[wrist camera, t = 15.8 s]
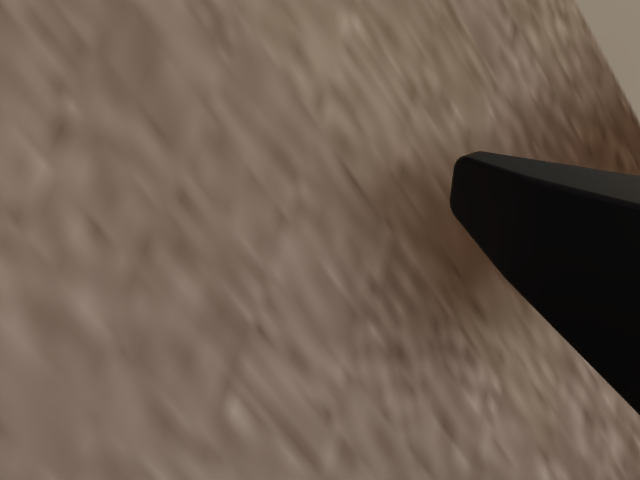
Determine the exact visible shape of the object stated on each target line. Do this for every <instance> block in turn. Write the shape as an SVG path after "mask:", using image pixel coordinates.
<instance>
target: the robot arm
mask: <svg viewBox="0 0 640 480" xmlns="http://www.w3.org/2000/svg"><path fill="white" fill-rule="evenodd" d="M450 207H451V210H452V212H453V214H454V216H455V217H456V218H457V220H458V221H459V222H460V223H461V224H462V226H463V227H464V228H465V229H466V231H467V232H468V233H469V234H470V236H471V237H472V238H473V239H474V241H475V242H476V243H477V244H478V245H479V247H480V248H481V249H482V250H483V252H484V253H485V254H486V255H487V257H488V258H489V259H490V260H491V262H492V263H493V264H494V265H495V267H496V268H497V269H498V270H499V271H500V272H501V274H502V275H503V276H504V277H505V278H506V279H507V280H508V282H509V283H510V284H511V285H512V286H513V287H514V288H515V289H516V290H517V291H518V292H519V293H520V294H521V295H522V296H523V297H524V298H525V299H526V300H527V301H528V302H529V303H530V304H531V305H532V306H533V307H534V308H535V309H536V310H537V311H538V312H539V313H540V314H541V315H542V316H543V317H544V318H545V319H546V320H547V321H548V322H549V323H550V324H551V326H552V327H553V328H554V329H555V330H556V331H557V332H558V333H559V334H560V335H561V336H562V337H563V338H564V339H565V340H566V341H567V342H568V343H569V344H570V345H571V346H572V347H573V348H574V349H575V350H576V351H577V352H578V353H579V354H580V355H581V356H582V357H583V358H584V359H585V360H586V361H587V362H588V363H589V364H590V365H591V366H592V367H593V368H594V369H595V370H596V371H597V372H598V373H599V374H600V375H601V376H602V377H603V378H604V379H605V380H606V381H607V382H608V383H609V384H610V385H611V386H612V387H613V388H614V389H615V390H616V391H617V392H618V393H619V394H620V396H621V397H622V398H623V399H624V400H625V401H626V402H627V403H628V404H629V405H630V406H631V407H632V408H633V409H634V410H635V411H636V412H637V413H638V414H639V415H640V176H635V175H628V174H622V173H616V172H609V171H603V170H597V169H590V168H584V167H578V166H571V165H565V164H559V163H552V162H546V161H540V160H533V159H527V158H521V157H514V156H508V155H502V154H495V153H489V152H482V151H479V152H474V153H471V154H468V155H465V156H462V157H460V158H459V159H458V160H457V161H456V163H455V165H454V171H453V179H452V186H451V194H450Z"/></svg>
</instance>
